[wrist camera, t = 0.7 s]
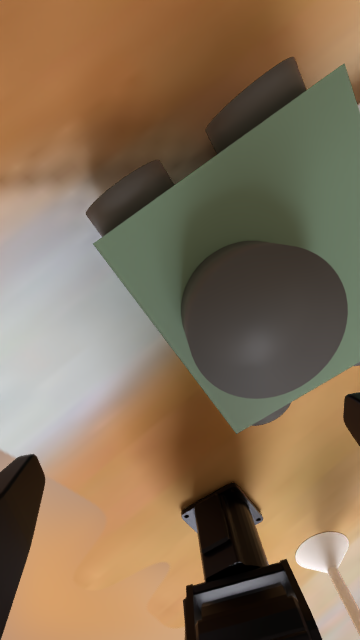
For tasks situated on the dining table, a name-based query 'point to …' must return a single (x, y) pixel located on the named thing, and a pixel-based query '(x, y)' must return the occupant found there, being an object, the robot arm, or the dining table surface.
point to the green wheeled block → (252, 245)
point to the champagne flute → (329, 565)
